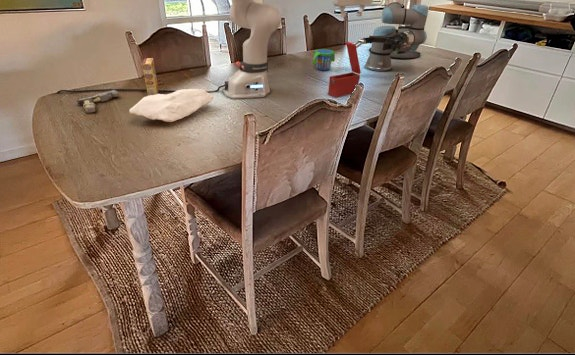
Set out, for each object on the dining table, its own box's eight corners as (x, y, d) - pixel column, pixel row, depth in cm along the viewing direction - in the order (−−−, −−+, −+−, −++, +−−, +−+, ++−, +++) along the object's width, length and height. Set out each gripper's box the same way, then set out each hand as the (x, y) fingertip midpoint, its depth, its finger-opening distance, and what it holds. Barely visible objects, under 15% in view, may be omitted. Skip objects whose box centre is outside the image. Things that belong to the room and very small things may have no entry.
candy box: (157, 97, 164) (152, 63, 155) (147, 98, 163) (141, 63, 155) (158, 91, 171) (153, 57, 163) (149, 91, 170) (143, 58, 162)
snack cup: (328, 65, 219) (329, 47, 214) (339, 69, 212) (341, 51, 206) (307, 68, 212) (308, 50, 206) (318, 73, 204) (319, 54, 199)
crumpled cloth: (117, 110, 146) (113, 90, 140) (195, 92, 166) (194, 73, 160) (143, 139, 134) (140, 118, 128) (223, 116, 154) (224, 96, 148)
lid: (353, 45, 164) (366, 35, 166) (345, 42, 168) (358, 33, 170) (359, 74, 175) (371, 65, 177) (351, 71, 178) (363, 62, 180)
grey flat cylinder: (430, 54, 248) (433, 40, 243) (396, 60, 230) (398, 45, 226) (391, 47, 273) (393, 34, 268) (357, 52, 255) (359, 38, 251)
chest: (335, 97, 173) (337, 79, 168) (328, 94, 176) (329, 76, 171) (357, 92, 180) (359, 74, 175) (350, 89, 184) (352, 72, 179)
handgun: (128, 97, 156) (111, 87, 164) (86, 107, 144) (70, 97, 152) (129, 103, 157) (113, 94, 165) (88, 114, 146) (72, 103, 154)
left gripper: (342, -18, 144) (338, 19, 152) (377, -19, 155) (372, 16, 162) (331, -20, 149) (328, 17, 156) (367, -20, 159) (362, 14, 166)
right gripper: (420, 52, 179) (391, 58, 168) (382, 42, 196) (354, 46, 185) (424, 36, 175) (394, 41, 164) (385, 27, 192) (356, 30, 181)
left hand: (351, 16), depth 159 cm, fingers open, 8 cm apart
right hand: (373, 44), depth 175 cm, fingers open, 13 cm apart
